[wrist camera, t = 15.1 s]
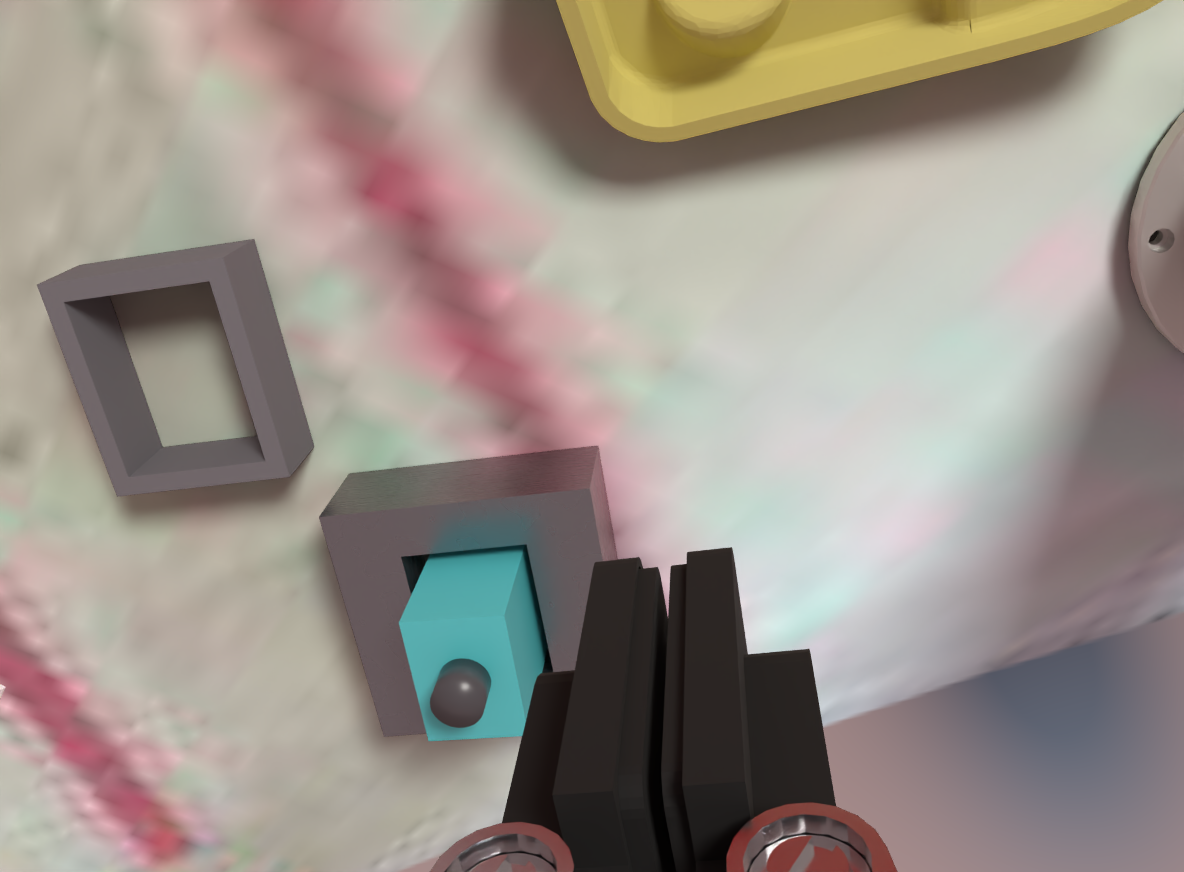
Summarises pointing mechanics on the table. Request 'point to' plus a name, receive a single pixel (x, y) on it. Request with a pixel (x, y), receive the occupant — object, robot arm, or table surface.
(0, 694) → the game piece set
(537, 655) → the plug
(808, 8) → the plastic component
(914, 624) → the table surface
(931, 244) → the table surface
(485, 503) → the port
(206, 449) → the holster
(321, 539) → the table surface
